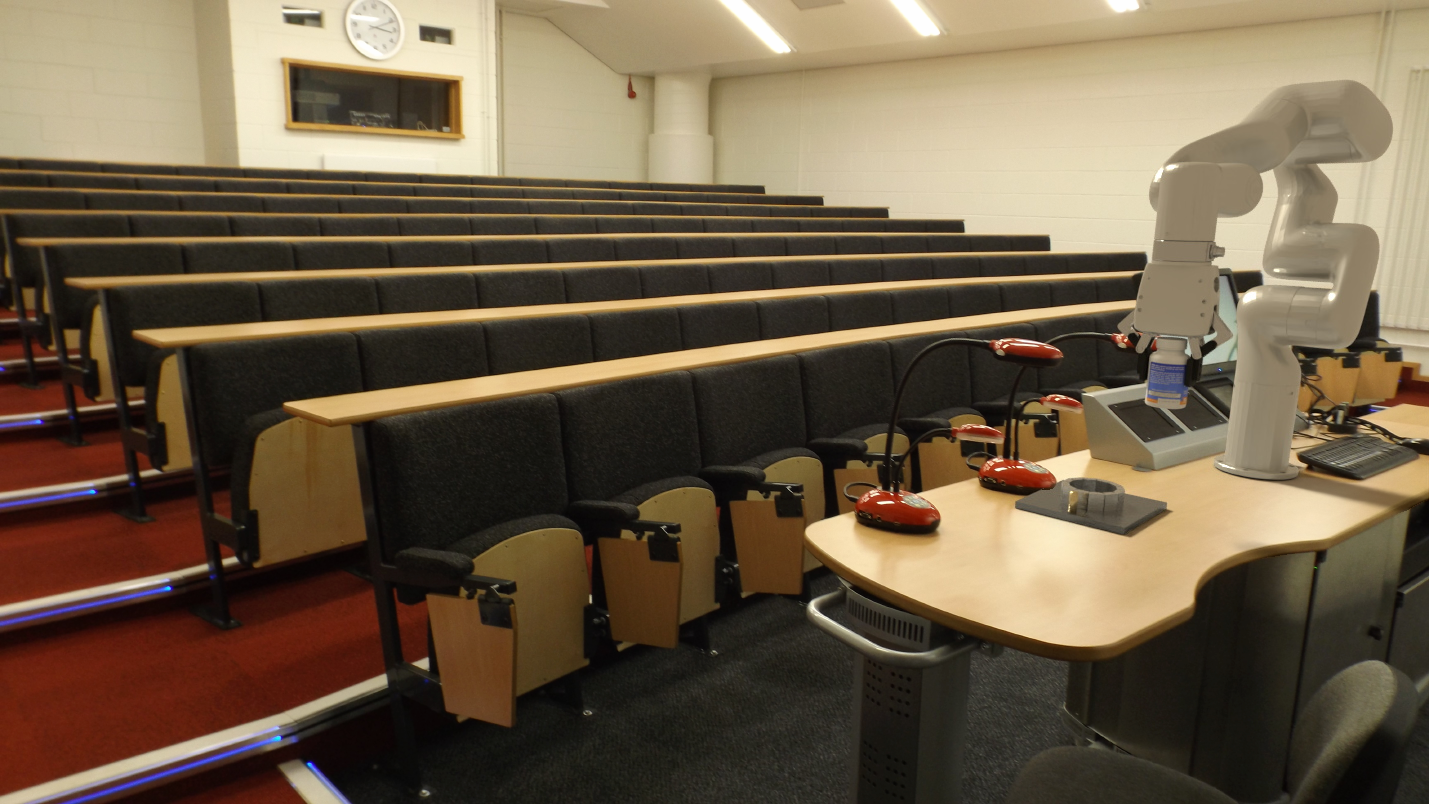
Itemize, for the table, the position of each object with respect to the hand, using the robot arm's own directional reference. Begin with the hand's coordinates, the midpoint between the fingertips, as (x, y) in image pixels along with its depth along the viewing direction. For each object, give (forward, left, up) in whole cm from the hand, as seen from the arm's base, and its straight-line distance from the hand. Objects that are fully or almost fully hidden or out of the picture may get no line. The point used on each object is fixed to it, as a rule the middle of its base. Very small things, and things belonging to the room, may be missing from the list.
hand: (1167, 381), depth 130 cm
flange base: (+4, -7, -20) cm, 22 cm away
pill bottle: (0, 0, -4) cm, 4 cm away
